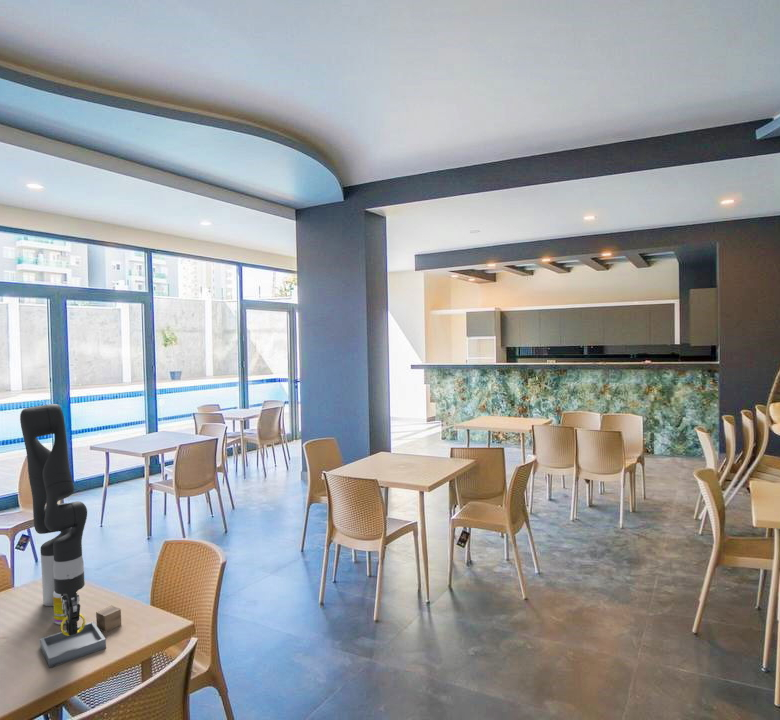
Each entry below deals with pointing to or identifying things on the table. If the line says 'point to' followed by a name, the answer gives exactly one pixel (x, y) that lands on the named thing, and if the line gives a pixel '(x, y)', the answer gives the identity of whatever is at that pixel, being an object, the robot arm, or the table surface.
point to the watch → (78, 630)
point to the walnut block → (108, 618)
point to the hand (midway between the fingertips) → (71, 631)
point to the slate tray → (72, 644)
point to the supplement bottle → (58, 609)
